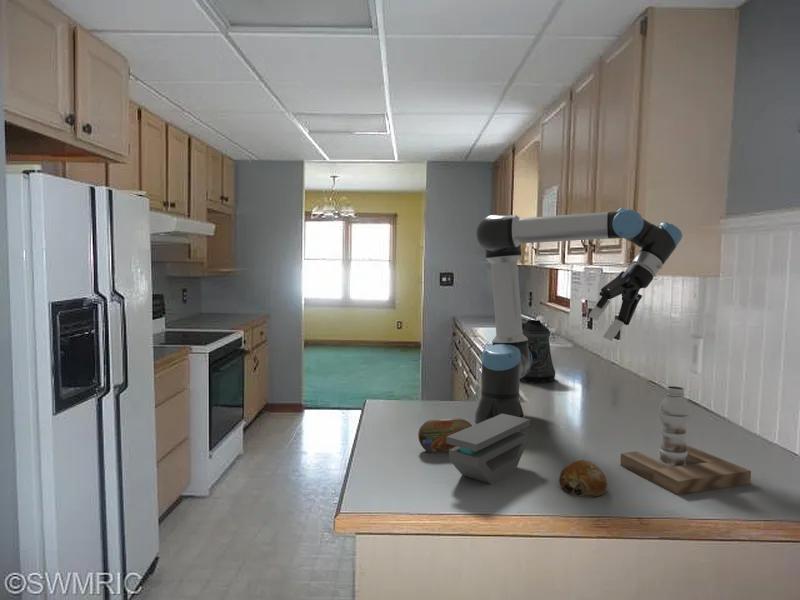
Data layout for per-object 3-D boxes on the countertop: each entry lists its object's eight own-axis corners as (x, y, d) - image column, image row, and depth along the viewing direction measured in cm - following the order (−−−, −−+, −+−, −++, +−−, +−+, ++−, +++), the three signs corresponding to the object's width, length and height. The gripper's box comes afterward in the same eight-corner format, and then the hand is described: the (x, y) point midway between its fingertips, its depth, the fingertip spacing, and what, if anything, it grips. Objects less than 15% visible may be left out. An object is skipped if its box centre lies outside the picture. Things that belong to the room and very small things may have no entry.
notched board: (677, 494, 120) (678, 481, 120) (620, 465, 137) (620, 453, 137) (750, 483, 127) (751, 470, 126) (687, 456, 144) (687, 445, 143)
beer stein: (559, 383, 227) (561, 323, 225) (512, 383, 227) (514, 322, 225) (549, 375, 243) (551, 318, 242) (505, 374, 244) (506, 318, 242)
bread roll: (609, 512, 119) (623, 478, 120) (572, 497, 116) (587, 462, 117) (581, 493, 129) (595, 462, 129) (546, 479, 126) (561, 447, 126)
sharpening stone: (501, 454, 144) (502, 413, 143) (528, 462, 139) (530, 419, 138) (445, 483, 124) (446, 436, 124) (475, 493, 119) (476, 444, 119)
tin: (419, 454, 143) (420, 422, 143) (416, 449, 146) (417, 418, 146) (475, 450, 146) (475, 419, 146) (471, 446, 149) (471, 416, 149)
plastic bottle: (689, 475, 131) (693, 391, 130) (658, 471, 133) (661, 389, 132) (685, 465, 137) (689, 386, 136) (655, 462, 139) (658, 384, 138)
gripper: (642, 251, 150) (597, 313, 149) (664, 295, 167) (623, 352, 166) (619, 243, 156) (575, 303, 154) (641, 286, 173) (602, 341, 171)
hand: (600, 328), depth 160 cm, fingers open, 13 cm apart
